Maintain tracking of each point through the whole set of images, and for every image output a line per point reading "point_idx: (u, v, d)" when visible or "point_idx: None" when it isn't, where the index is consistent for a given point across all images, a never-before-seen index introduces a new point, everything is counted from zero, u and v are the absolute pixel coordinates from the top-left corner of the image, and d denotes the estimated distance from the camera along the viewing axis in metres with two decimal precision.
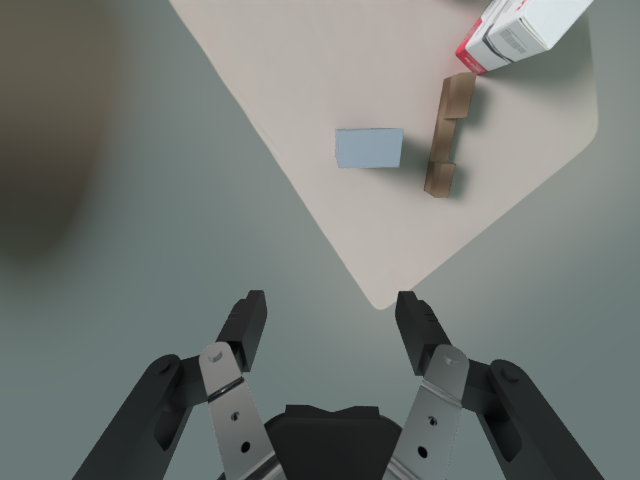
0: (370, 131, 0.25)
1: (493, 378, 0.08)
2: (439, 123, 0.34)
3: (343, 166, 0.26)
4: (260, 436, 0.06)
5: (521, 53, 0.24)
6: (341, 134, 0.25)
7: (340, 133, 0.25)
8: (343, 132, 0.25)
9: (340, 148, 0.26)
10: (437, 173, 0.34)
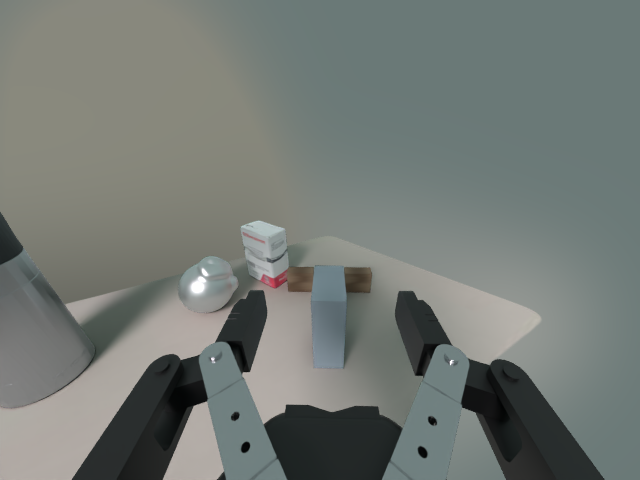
0: (314, 281, 0.28)
1: (493, 378, 0.08)
2: None
3: (344, 297, 0.26)
4: (260, 436, 0.06)
5: (284, 242, 0.44)
6: (314, 299, 0.25)
7: (313, 300, 0.25)
8: (312, 298, 0.26)
9: (327, 300, 0.25)
10: (352, 276, 0.42)
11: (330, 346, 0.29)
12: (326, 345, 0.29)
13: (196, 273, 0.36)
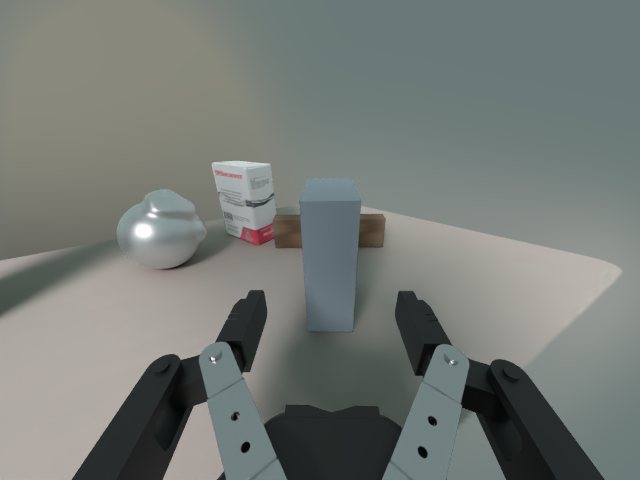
0: (306, 188, 0.18)
1: (493, 378, 0.08)
2: None
3: (356, 198, 0.15)
4: (260, 437, 0.06)
5: (269, 183, 0.34)
6: (305, 200, 0.15)
7: (303, 201, 0.15)
8: (302, 199, 0.15)
9: (327, 200, 0.15)
10: None
11: (333, 292, 0.18)
12: (326, 290, 0.18)
13: (141, 207, 0.26)
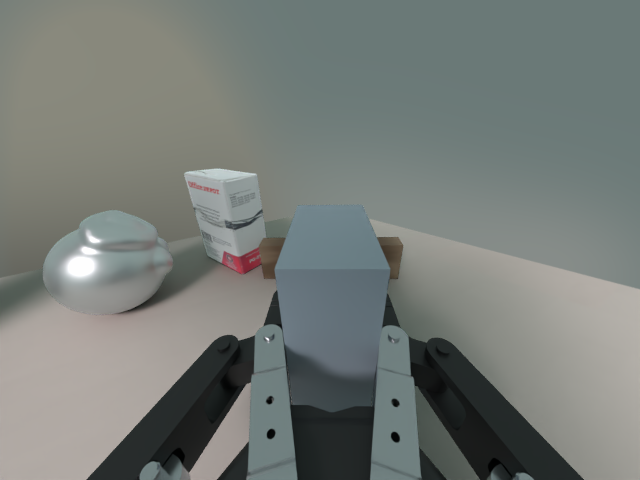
0: (292, 228, 0.11)
1: (431, 358, 0.09)
2: None
3: (381, 260, 0.08)
4: (285, 430, 0.06)
5: (255, 197, 0.27)
6: (286, 265, 0.08)
7: (283, 267, 0.08)
8: (282, 262, 0.08)
9: (326, 267, 0.08)
10: None
11: (336, 395, 0.11)
12: (325, 393, 0.11)
13: (75, 237, 0.19)
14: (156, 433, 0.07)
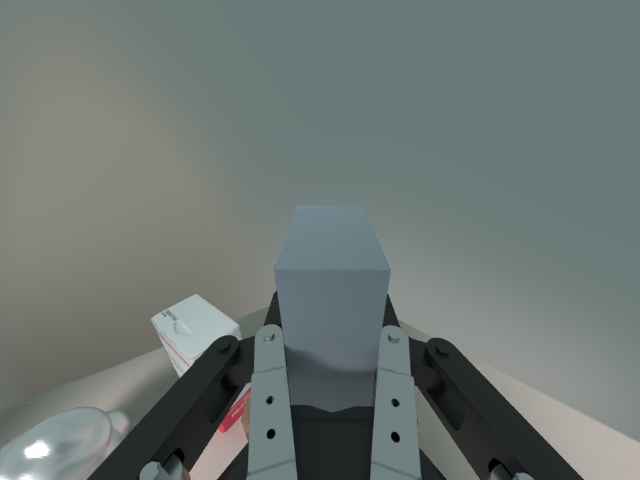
0: (292, 228, 0.11)
1: (431, 358, 0.09)
2: None
3: (381, 260, 0.08)
4: (285, 430, 0.06)
5: None
6: (286, 265, 0.08)
7: (282, 267, 0.08)
8: (281, 262, 0.08)
9: (326, 267, 0.08)
10: None
11: (336, 396, 0.11)
12: (325, 394, 0.11)
13: None
14: (156, 433, 0.07)
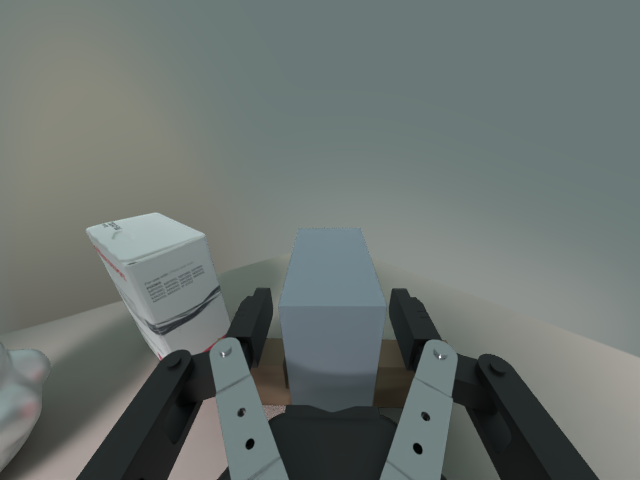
0: (294, 257, 0.11)
1: (481, 373, 0.08)
2: None
3: (378, 296, 0.09)
4: (264, 434, 0.06)
5: (203, 272, 0.16)
6: (289, 301, 0.09)
7: (286, 304, 0.08)
8: (285, 298, 0.09)
9: (327, 303, 0.08)
10: (399, 374, 0.14)
11: None
12: None
13: None
14: (111, 470, 0.06)
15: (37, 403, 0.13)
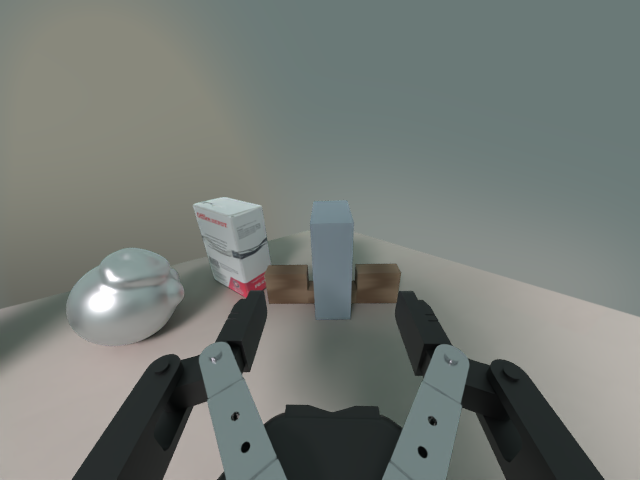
0: (313, 211, 0.24)
1: (493, 378, 0.08)
2: (313, 296, 0.28)
3: (350, 220, 0.21)
4: (260, 436, 0.06)
5: (260, 227, 0.28)
6: (314, 222, 0.21)
7: (313, 223, 0.21)
8: (312, 221, 0.21)
9: (329, 222, 0.21)
10: (369, 278, 0.27)
11: (334, 289, 0.24)
12: (329, 287, 0.24)
13: (96, 277, 0.20)
14: None
15: (183, 289, 0.25)
